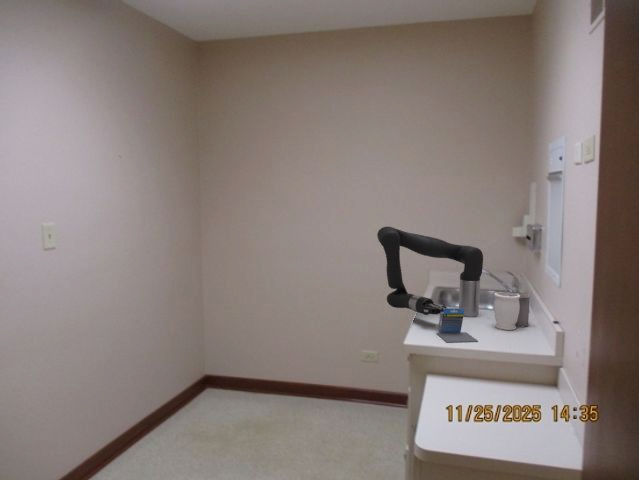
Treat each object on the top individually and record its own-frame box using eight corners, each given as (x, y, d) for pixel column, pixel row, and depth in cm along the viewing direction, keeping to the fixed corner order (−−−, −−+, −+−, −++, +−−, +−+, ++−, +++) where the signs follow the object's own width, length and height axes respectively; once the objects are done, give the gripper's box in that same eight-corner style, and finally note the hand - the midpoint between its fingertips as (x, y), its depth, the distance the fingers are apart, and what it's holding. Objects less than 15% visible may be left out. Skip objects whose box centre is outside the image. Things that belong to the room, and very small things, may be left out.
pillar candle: (506, 320, 220) (507, 288, 219) (529, 322, 216) (530, 290, 214) (504, 325, 212) (505, 292, 210) (527, 328, 207) (529, 295, 206)
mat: (436, 334, 199) (436, 333, 199) (466, 333, 200) (466, 332, 200) (446, 342, 187) (446, 341, 187) (478, 341, 189) (478, 340, 189)
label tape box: (458, 327, 204) (461, 303, 199) (460, 333, 200) (464, 308, 195) (437, 327, 204) (441, 303, 199) (440, 333, 200) (443, 308, 195)
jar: (504, 332, 202) (505, 297, 200) (487, 325, 211) (489, 292, 210) (523, 329, 205) (525, 295, 204) (506, 323, 215) (508, 290, 213)
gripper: (410, 298, 212) (438, 306, 197) (431, 295, 219) (460, 302, 204) (409, 314, 213) (437, 324, 198) (431, 310, 220) (460, 319, 205)
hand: (449, 313), depth 201 cm, fingers closed
